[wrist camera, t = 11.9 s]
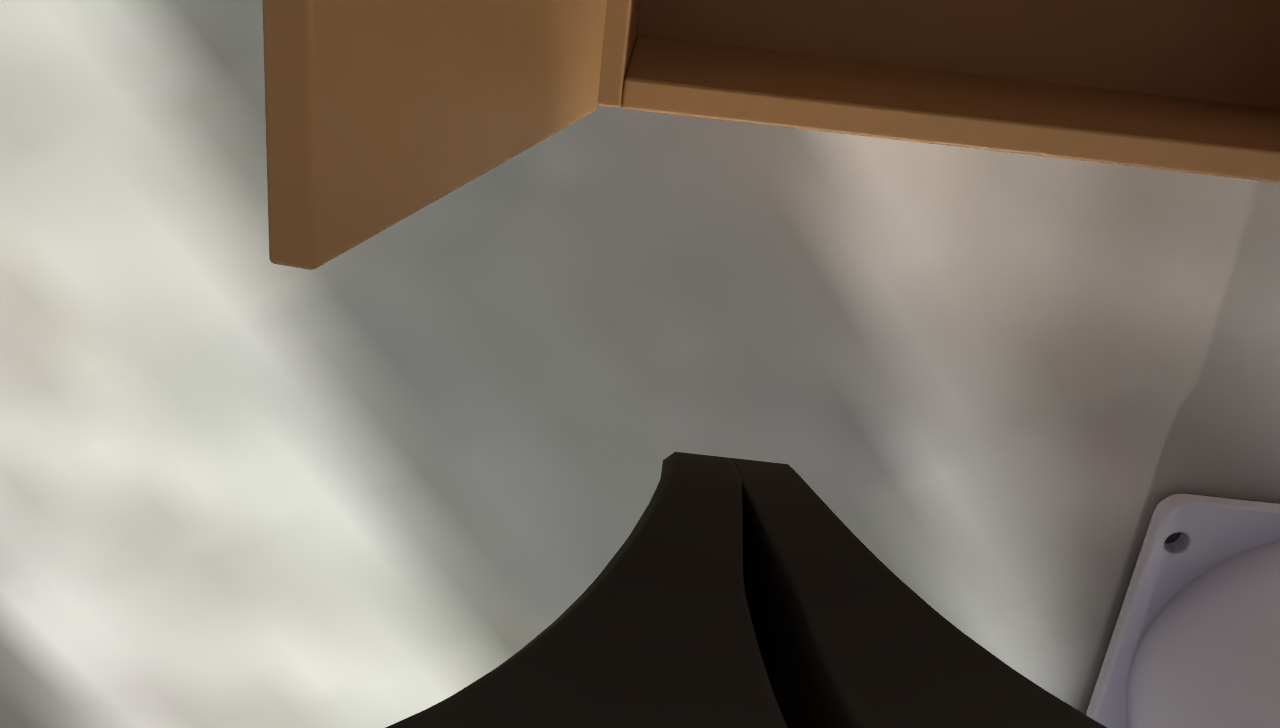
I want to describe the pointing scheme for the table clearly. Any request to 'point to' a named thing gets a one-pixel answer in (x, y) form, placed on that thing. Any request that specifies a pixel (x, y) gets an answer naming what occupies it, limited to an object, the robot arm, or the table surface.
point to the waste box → (971, 74)
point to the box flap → (409, 105)
